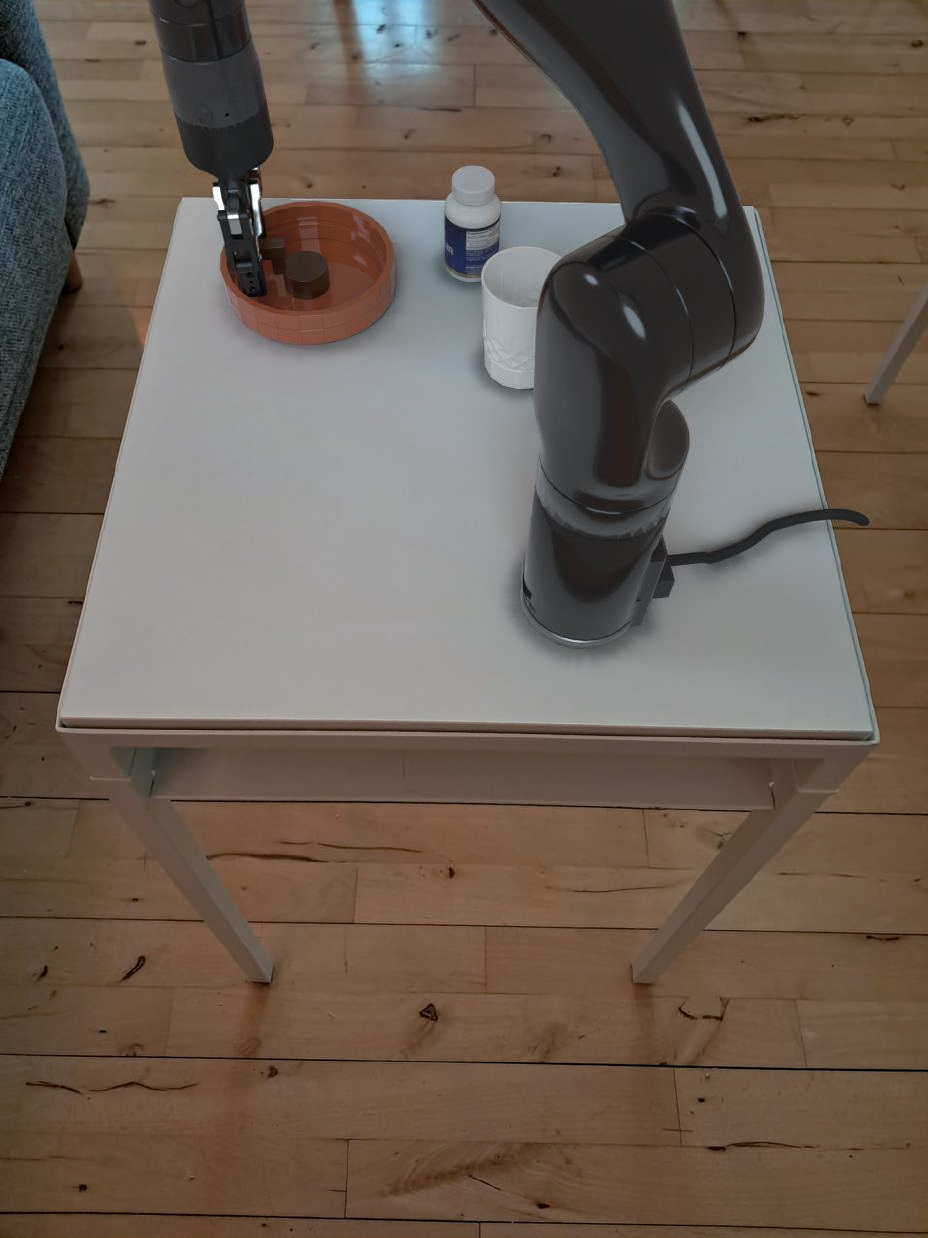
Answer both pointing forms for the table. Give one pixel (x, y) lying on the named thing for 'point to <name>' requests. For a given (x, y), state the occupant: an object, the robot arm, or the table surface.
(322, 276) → the brown cylinder with tab
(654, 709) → the table surface
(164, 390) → the table surface
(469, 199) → the pill bottle
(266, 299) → the bowl
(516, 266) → the white cup
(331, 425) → the table surface
